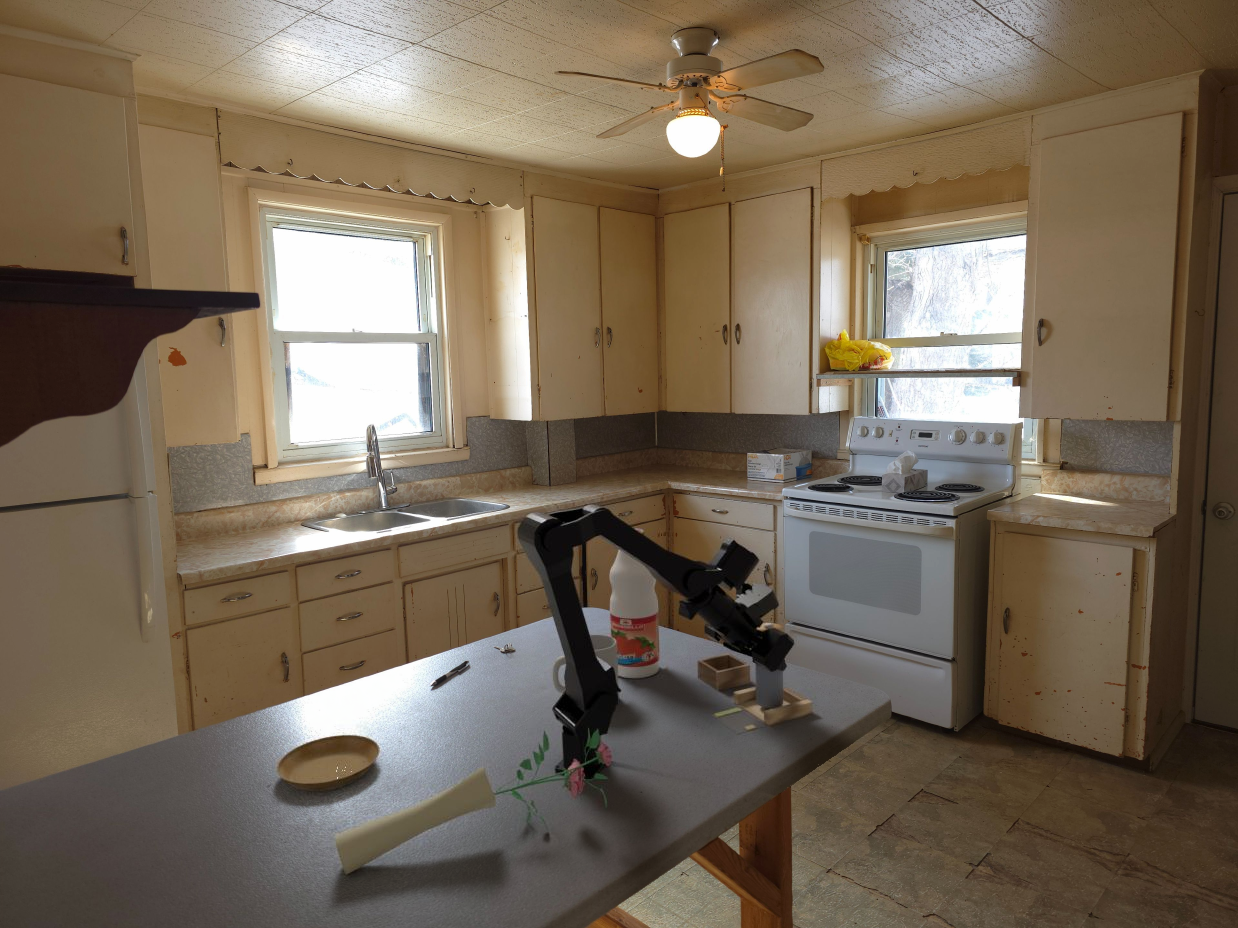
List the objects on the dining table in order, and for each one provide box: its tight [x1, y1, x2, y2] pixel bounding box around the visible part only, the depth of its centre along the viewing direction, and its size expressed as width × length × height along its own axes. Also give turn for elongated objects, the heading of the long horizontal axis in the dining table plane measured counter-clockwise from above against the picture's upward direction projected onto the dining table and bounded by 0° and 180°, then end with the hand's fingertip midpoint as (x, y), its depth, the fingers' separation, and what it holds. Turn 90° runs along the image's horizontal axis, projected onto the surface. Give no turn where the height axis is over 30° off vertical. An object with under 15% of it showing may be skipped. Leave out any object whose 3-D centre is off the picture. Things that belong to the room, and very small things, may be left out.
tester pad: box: [710, 706, 768, 735], centre depth 133 cm, size 6×8×1 cm
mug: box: [552, 634, 620, 698], centre depth 142 cm, size 12×8×11 cm
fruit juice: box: [609, 527, 661, 679], centre depth 156 cm, size 9×9×28 cm
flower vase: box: [334, 728, 612, 875], centre depth 103 cm, size 12×12×35 cm
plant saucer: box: [276, 734, 381, 792], centre depth 122 cm, size 15×15×3 cm
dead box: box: [697, 652, 751, 692], centre depth 149 cm, size 7×7×4 cm
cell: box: [754, 622, 784, 708], centre depth 136 cm, size 5×5×14 cm
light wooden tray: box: [733, 685, 813, 727], centre depth 137 cm, size 9×10×3 cm
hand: (775, 663), depth 136 cm, fingers closed on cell, 5 cm apart
